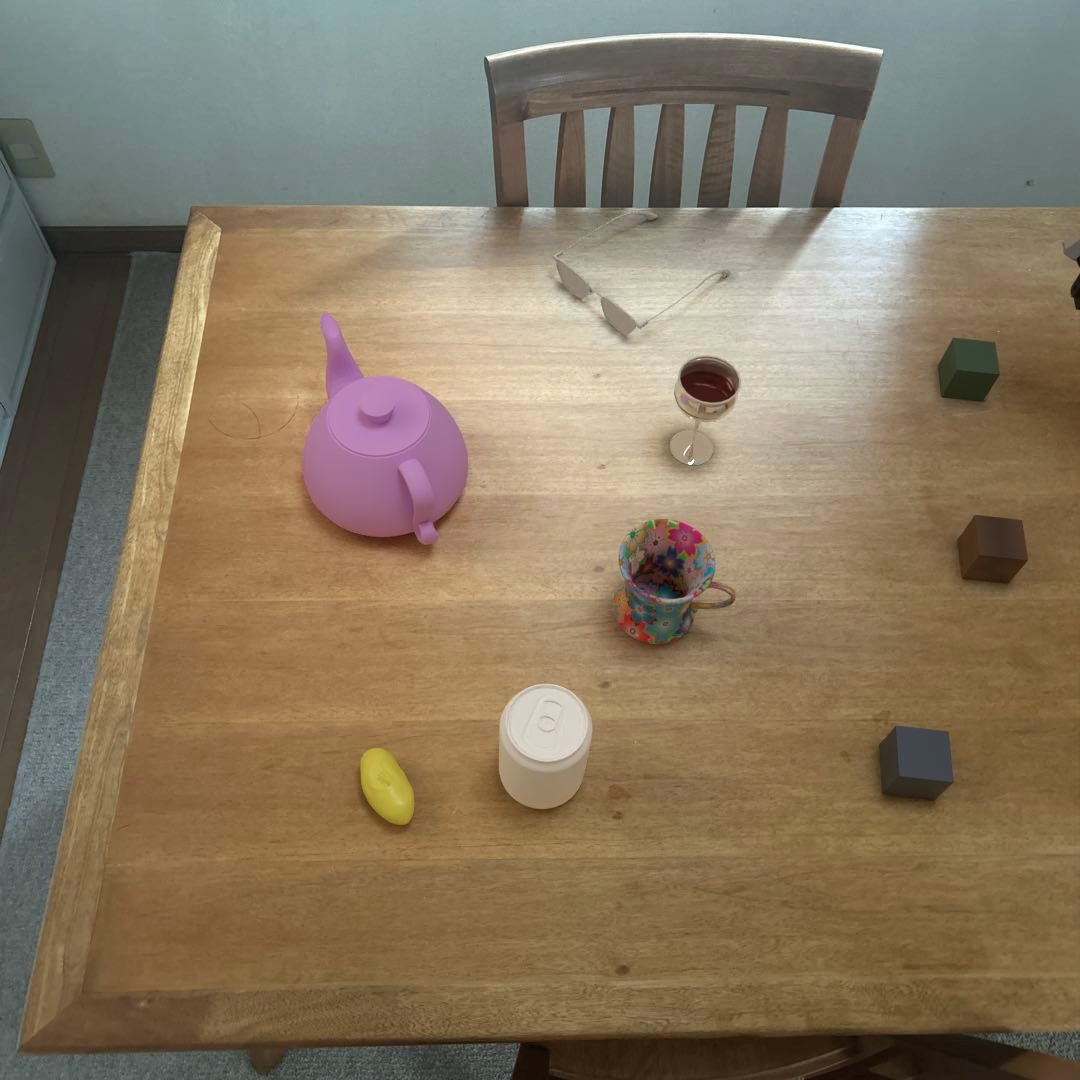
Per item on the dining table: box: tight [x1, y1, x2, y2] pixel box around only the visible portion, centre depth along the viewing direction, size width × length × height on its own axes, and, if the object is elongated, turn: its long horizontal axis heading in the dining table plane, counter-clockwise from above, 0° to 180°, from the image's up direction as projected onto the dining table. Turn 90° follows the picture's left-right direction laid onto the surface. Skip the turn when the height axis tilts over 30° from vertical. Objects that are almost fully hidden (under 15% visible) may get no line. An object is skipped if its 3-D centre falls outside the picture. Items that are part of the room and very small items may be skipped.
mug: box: [612, 518, 737, 645], centre depth 108 cm, size 12×9×11 cm
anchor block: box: [879, 725, 954, 801], centre depth 102 cm, size 5×5×5 cm
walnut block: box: [957, 514, 1029, 584], centre depth 115 cm, size 5×5×5 cm
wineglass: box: [669, 354, 742, 466], centre depth 118 cm, size 7×7×12 cm
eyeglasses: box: [552, 210, 731, 336], centre depth 136 cm, size 15×18×4 cm
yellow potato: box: [359, 747, 415, 826], centre depth 99 cm, size 4×8×4 cm, turn 26°
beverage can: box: [498, 683, 594, 810], centre depth 98 cm, size 8×8×12 cm
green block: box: [937, 337, 1001, 402], centre depth 128 cm, size 5×5×5 cm
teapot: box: [302, 312, 469, 545], centre depth 114 cm, size 25×18×14 cm
